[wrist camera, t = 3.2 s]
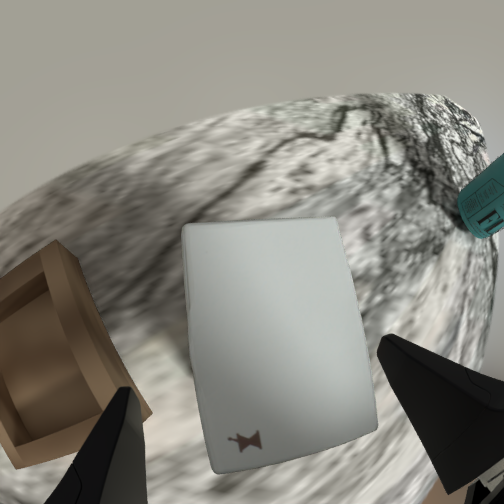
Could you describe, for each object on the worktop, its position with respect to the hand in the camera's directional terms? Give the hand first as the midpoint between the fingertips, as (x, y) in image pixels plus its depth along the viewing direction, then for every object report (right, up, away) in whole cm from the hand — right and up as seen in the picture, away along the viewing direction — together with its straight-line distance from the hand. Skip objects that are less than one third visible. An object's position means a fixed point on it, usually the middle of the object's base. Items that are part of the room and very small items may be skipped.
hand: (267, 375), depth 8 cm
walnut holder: (-15, -4, +6) cm, 16 cm away
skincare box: (-2, -2, +9) cm, 9 cm away
